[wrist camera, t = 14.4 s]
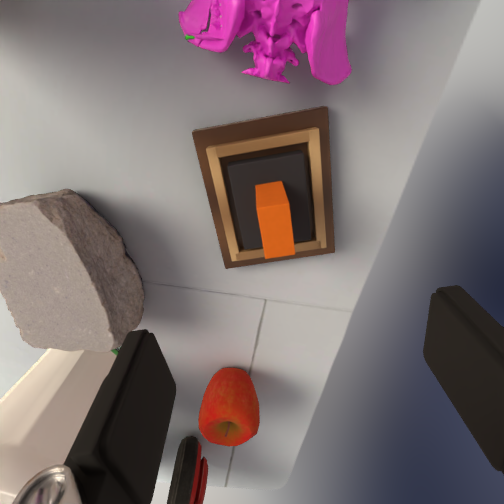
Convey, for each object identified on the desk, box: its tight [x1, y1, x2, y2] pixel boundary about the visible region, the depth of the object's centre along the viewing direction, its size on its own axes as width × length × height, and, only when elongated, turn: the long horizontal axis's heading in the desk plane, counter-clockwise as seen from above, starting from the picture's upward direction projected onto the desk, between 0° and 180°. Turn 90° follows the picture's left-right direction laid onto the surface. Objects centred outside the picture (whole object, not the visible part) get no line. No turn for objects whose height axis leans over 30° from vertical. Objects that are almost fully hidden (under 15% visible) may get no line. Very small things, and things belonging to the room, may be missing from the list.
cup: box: [0, 348, 118, 504], centre depth 29 cm, size 12×12×15 cm
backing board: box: [192, 106, 335, 269], centre depth 25 cm, size 12×10×2 cm
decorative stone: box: [0, 189, 145, 352], centre depth 26 cm, size 15×7×10 cm
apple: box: [198, 368, 260, 446], centre depth 33 cm, size 6×6×8 cm
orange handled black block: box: [227, 150, 311, 259], centre depth 22 cm, size 7×6×6 cm
